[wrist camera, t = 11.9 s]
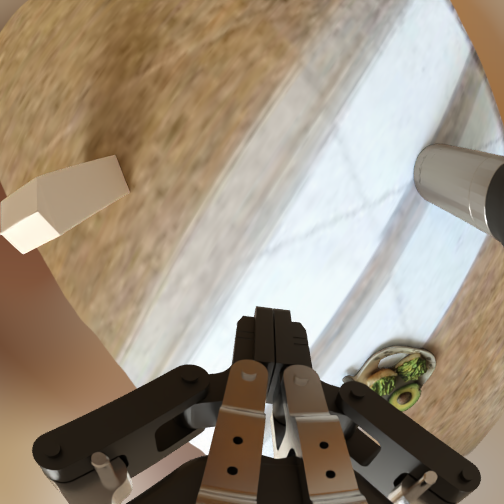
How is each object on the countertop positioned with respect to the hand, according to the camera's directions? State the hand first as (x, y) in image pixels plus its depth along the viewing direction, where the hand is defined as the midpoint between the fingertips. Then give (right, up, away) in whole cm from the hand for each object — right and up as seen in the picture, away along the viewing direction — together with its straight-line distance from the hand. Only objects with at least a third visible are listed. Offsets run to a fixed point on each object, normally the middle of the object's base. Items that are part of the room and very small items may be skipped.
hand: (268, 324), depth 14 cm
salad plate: (+27, -22, +42) cm, 54 cm away
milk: (-22, +13, +28) cm, 38 cm away
